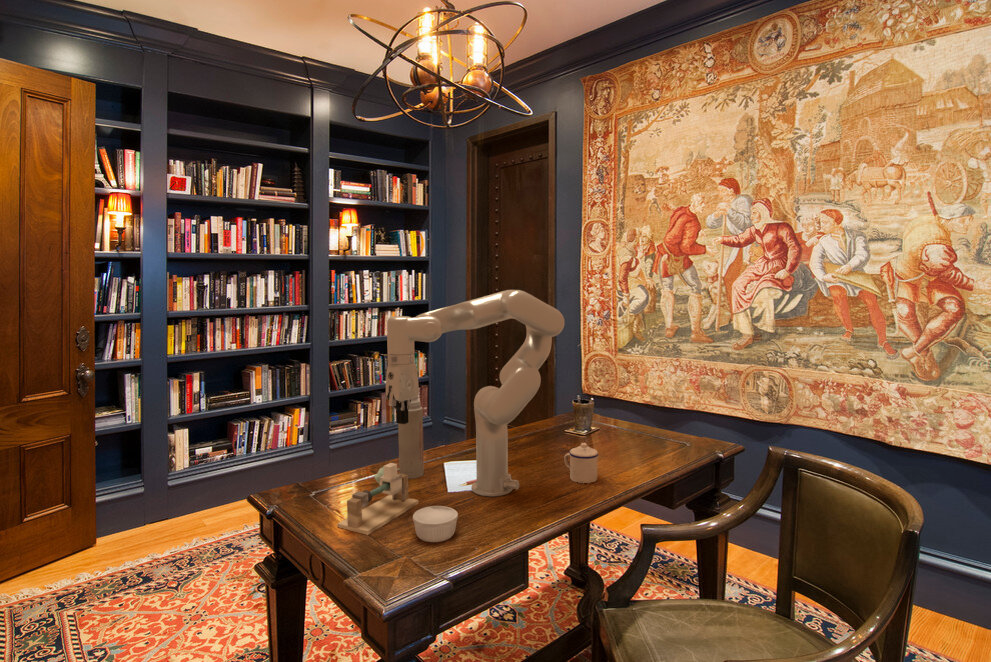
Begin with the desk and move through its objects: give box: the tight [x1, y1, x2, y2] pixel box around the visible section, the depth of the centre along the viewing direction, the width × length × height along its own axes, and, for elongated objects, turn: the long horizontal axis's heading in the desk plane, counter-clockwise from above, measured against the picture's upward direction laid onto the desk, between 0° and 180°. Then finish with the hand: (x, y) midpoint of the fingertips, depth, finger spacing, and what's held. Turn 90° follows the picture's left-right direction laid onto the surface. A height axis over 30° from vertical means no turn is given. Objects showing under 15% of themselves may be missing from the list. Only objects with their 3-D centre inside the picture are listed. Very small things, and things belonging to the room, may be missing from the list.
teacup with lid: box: [563, 442, 599, 484], centre depth 176 cm, size 12×9×12 cm
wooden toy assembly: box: [336, 473, 419, 536], centre depth 149 cm, size 22×10×9 cm, turn 153°
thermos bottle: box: [397, 396, 425, 480], centre depth 179 cm, size 8×8×28 cm
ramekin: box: [412, 505, 459, 543], centre depth 137 cm, size 11×11×5 cm
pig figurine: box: [374, 466, 399, 486], centre depth 168 cm, size 8×4×7 cm, turn 137°
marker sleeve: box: [379, 462, 402, 495], centre depth 153 cm, size 4×5×8 cm
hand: (402, 422), depth 157 cm, fingers closed
